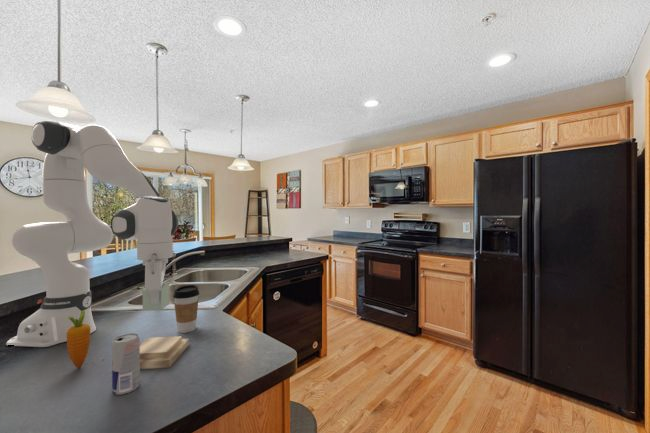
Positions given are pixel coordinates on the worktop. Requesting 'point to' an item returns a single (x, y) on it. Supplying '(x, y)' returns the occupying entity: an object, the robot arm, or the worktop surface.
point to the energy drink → (125, 363)
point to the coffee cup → (186, 307)
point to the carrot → (78, 340)
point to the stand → (161, 351)
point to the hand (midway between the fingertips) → (156, 299)
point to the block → (162, 299)
